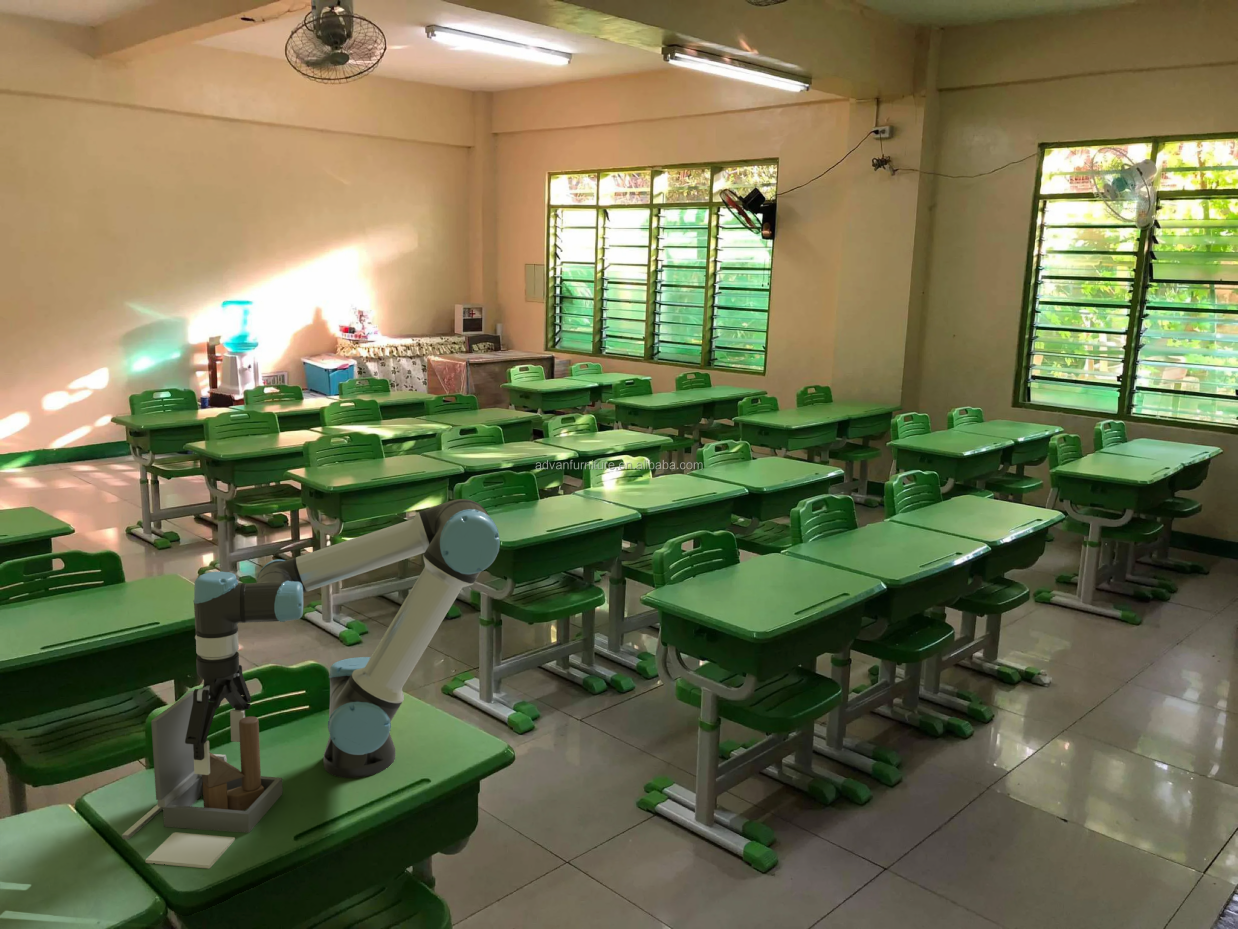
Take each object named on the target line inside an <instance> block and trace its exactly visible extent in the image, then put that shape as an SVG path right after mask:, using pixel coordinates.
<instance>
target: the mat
mask: <svg viewBox="0 0 1238 929" xmlns="http://www.w3.org/2000/svg"><path fill="white" fill-rule="evenodd" d="M235 840H236V838H235V837H233V836H222V835H221V836H220V835H211V834H209V835H208V834H201V833H199V834H198V833H186V832H172V833H171V835H169V837H167V838H166V839H165V840H164V841H163V842H162V843H161V844H160V845H159V846H158V847H157V848H156V849H155V850H154V851H153V852H152V853H151V854H149V856H148V857H147V858H146V859H145V863H146V864H153V863H155V864H156V865H164V864H165V866H167V865H168V866H177V867H178V866H179V867H189V868H200V869H208V870H209V869H211V868H212V866H214V864H215V863H216V862H217V861H218V860H219V859H220V858H221V857H222V855H224V853H225V852H226V851H227V849H229V847H230V846H231V845H232V844H233V843H234V842H235ZM155 864H154V865H155Z"/></svg>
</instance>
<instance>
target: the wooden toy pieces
mask: <svg viewBox="0 0 1238 929" xmlns="http://www.w3.org/2000/svg"><path fill="white" fill-rule="evenodd" d="M259 724H260V722H259V718H258V717H256V716H245V718H242V719H241V720H240V721H239V734H240V742H239V754H240V756H239V757H240V769H239V768H237V767H235V766H234V765H232V764H230V762H229V763H228V761H227V762H225V761H224V760H222V759H220V758H219V757H217V756H215V755H214V754H215V753H212V752H210V774H209V775H203V774H202V781H203V795H202V799H203V800H202V801H203V807H204V808H216V809H228V810H240V811H246V810H247V809H248V808H249V807H250V806H251V805H252V804H253V803H254V802H255V801H256V800H257V799H258V798H259V797H260V795H261V794H262V793H263V792H264V787H263V786H262V785H261V776H262V775H261V772H262V771H261V750H260V726H259ZM239 778H241V780H242V786H241V787H238V788H235V789H231V790H228V791H227V783H226V782H229V781H232V780H235V779H239Z"/></svg>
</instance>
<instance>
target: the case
mask: <svg viewBox="0 0 1238 929" xmlns="http://www.w3.org/2000/svg"><path fill="white" fill-rule="evenodd" d="M193 692H194V690H191V691H190V692H188V693H187V694H186V695H184V696H183V697H182V698H180V699H179V700H178V701H176V702H174V703H173V704H172V705H170V706H169V707H168V708H167V709H165V710H164V711H163V712H161V713H160V714H158V715H157V716H156V717H154V718H153V719H151V722H150V723H151V724H150V725H151V736H152V738H151V739H152V740H151V741H152V753H153V754H152V756H153V769H154V770H153V772H154V784H155V800H157V804H158V807H163V809H162V812H163V814H162V815H163V827H169V828H177V829H179V828H180V829H191V830H202V831H203V830H205V831H217V832H219V831H220V832H231V833H233V832H234V833H251V831H252V830H253V829H254V828H255V826H257V824H258V823H259V822H260V821H261V820H262V818H264V816H265V815H266V814H267V813H268V812H269V810H270V809H271V808H272V807H273V806H274V804H276V802H277V801H278V800H279V799H280V798H281V796H282V795H283V792H284V791H283V777H276V776H265V775H264V776H262V775H261V785H262V786H263V787H264V792H263V793H262V794H261V795H260V797H259V798H258V799H257V800H256V801H255V802H254V803H253V804H252V805H251V806H250V807H249V808H248V809H245V810H243V811H240V810H228V809H216V808H204V806H193V804H195V803H196V802H197V801H198V800H199V799H200V798H201V797H203V781H202V774H194V751H193V744H186V743H185V739H186V734H187V729H188V724H189V719H190V715H191V710H192V705H193ZM213 754H214V755H215V756H217V757H219V758H220V759H222V760H224V761H225V762H227V763H228V759H227V754H219V753H218V754H217V753H213ZM226 783H227V791H228V790H231V789H235V788H238V787H241V786H242V780H241V778H239V779H235V780H232V781H229V782H226Z"/></svg>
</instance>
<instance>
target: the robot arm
mask: <svg viewBox="0 0 1238 929" xmlns="http://www.w3.org/2000/svg"><path fill="white" fill-rule="evenodd" d="M500 544H501V542H500V533H499V528H498V527H497V525H496V523H495V521H494V520H493V518H491V516H490V515H489V514H488V511H487V510H486V509H485V507H483V506H482V505H481V504H480V503H478V502H476V501H474V500H471V499H467V498H466V499H465V498H459V499H454V500H453V499H452V500H450V501H447V502H444V503H441V504H438V505H434V506H431V507H429V508H427V509H424V510H420V511H417V513H416V514H415V516H414V517H413V518H411V519H408V520H406V521H402V522H399V523H396V524H393V525H391V526H388V527H384V528H382V529H377V530H375V531H372V532H369V533H365V534H362V535H360V536H356V537H354V538H351V539H348V540H344V541H342V542H339V543H336V544H333V545H330V546H326V547H323V548H320V549H318V550H315V551H312V552H308V553H306V554H305V553H304V554H302V555H299V556H297V557H294V558H289V559H287V560H286V559H273V560H270V561H269V562H266V563H265V564H264V565H263V566H262V568H261V569H260V570H259V573H258V575H257V578H256V582H250V583H247V582H246V583H242V582H239V581H238V579H237V576H236V574H235V573H233V572H231V571H230V572H229V571H210V572H206V573H203V574H201V575H199V576H197V577H196V579H195V580H194V584H193V585H194V595H193V596H194V597H193V598H194V599H193V608H194V610H193V611H194V627H195V628H194V629H195V636H194V639H195V645H196V646H195V649H196V650H195V651H196V654H197V656H196V658H195V659H196V661H195V662H196V674H197V676H198V677H200V678H201V679H202V680H203V684H202V688H195V689H194V690H193V691H194V692H193V705H192V710H191V715H190V719H189V724H188V729H187V734H186V739H185V743H186V744H193V751H194V774H203V775H209V774H210V753H211V752H210V740H207V739H208V735H209V732H210V730H211V726H212V723H213V719H214V717H215V714H216V711H217V709H218V708H220V706H221V703H222V702H223V701H224V699H226V701H227V702H228V704H229V705H230V706H231V707H232V709H231V710H230V711H229V716H230V717H229V719H230V720H229V721H230V741H231V742H235V743H240V734H239V721H240V720H241V719H242V718H245V717H246V710H250V708H251V703H250V702H251V701H252V697H251V694H250V691H249V688H248V686H247V683H246V680H245V677H244V675H243V666H242V665H241V664H240V654H239V652H238V651H239V649H240V648H239V647H240V646H239V625H238V624H241V623H242V624H245V623H248V624H249V623H273V622H279V623H285V622H290V621H296V620H297V621H298V620H299V619H302V617H303V614H304V593H307V592H310V591H313V590H316V589H319V588H322V587H326V586H328V585H331V584H335V583H338V582H340V581H343V580H346V579H349V578H352V577H355V576H357V575H361V574H364V573H367V572H371V571H373V570H376V569H379V568H381V567H385V566H388V565H392V564H395V563H398V562H400V561H402V560H403V561H404V560H405V559H410V558H412V557H415V556H416V557H417V556H419V555H422V558H423V562H424V568H423V570H422V571H421V573H420V574H419V576H418V578H417V579H416V581H415V583H414V584H413V586H412V588H411V590H410V591H409V593H408V594H407V596H406V598H405V599H404V601H403V603H402V605H401V606H400V608H399V610H398V611H397V613H396V614H395V616H394V618H393V620H392V621H391V622H390V624H389V626H388V628H387V630H386V631H385V632H384V634H383V636H382V637H381V640H380V641H379V643H378V644H377V646H376V648H375V650H374V652H373V653H372V654H371V656H361V657H360V656H359V657H350V658H345V659H342V660H341V659H340V660H338V661H336V662H334V663H333V664H332V665H331V666H330V668H329V675H328V679H329V711H328V712H329V716H328V721H327V729H328V733H329V738H328V740H327V742H326V747H325V750H324V752H323V768H324V770H325V771H326V772H327V773H328V774H330V775H332V776H335V777H338V778H344V779H357V778H360V779H361V778H364V777H365V778H366V777H370V776H373V775H376V773H377V774H379V773H382V772H384V771H385V770H387V769H388V768H390V767H391V766H392V765H393V764H394V762H395V761H394V760H396V757H395V756H396V746H395V744H394V741H393V739H392V735H391V733H390V732H391V731H392V730H391V729H392V723H391V722H392V720H393V719H394V717H395V715H396V713H397V712H398V710H399V708H401V705H402V704H403V702H404V700H405V696H404V692H403V687H404V685H405V684H406V682H407V681H408V679H409V677H410V675H411V674H412V672H413V671H414V669H415V667H416V666H417V664H418V662H419V661H420V659H421V657H422V656H423V655H424V653H425V651H426V650H427V647H428V646H429V644H430V642H431V641H432V639H433V637H434V636H435V634H436V632H437V631H438V629H439V627H440V626H441V624H442V622H443V620H444V619H445V617H446V616H447V613H448V612H449V611H450V609H451V607H452V606H453V604H454V602H455V600H456V599H457V597H458V596H459V593H460V592H461V591H462V589H463V588H466V587H470V586H473V585H475V584H474V583H475V582H476V580H477V578H478V577H479V575H480V574H481V572H483V571H484V570H485V571H486V569H488V568H490V566H491V565H492V564H493V563H494V562H495V560H496V559H497V556H498V554H499V552H500ZM392 763H393V764H392ZM391 764H392V765H391ZM390 765H391V766H390ZM389 766H390V767H389ZM386 768H387V769H386Z"/></svg>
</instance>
